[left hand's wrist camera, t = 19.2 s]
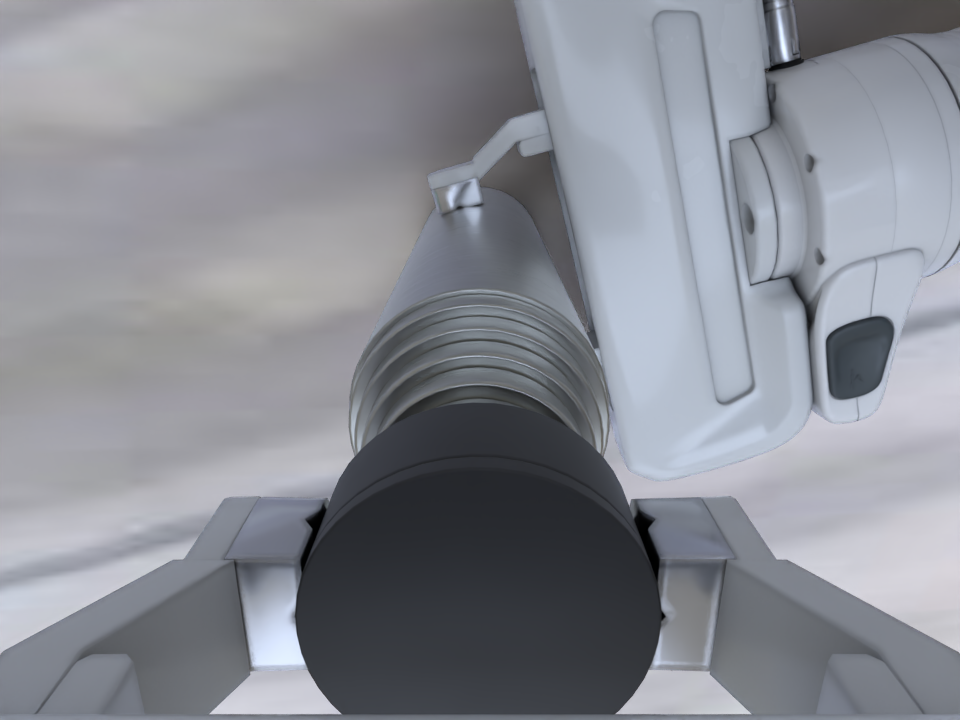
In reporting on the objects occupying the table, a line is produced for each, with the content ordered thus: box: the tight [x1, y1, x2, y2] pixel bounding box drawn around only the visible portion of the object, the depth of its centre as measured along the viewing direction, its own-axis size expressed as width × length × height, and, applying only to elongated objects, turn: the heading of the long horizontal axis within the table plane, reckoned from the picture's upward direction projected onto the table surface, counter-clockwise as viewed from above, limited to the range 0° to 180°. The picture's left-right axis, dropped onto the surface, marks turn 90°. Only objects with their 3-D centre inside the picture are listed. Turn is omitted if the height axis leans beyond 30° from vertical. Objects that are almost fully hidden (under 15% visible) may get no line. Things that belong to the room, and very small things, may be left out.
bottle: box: [349, 187, 610, 457], centre depth 21 cm, size 6×6×25 cm
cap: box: [295, 402, 661, 714], centre depth 9 cm, size 4×4×2 cm
